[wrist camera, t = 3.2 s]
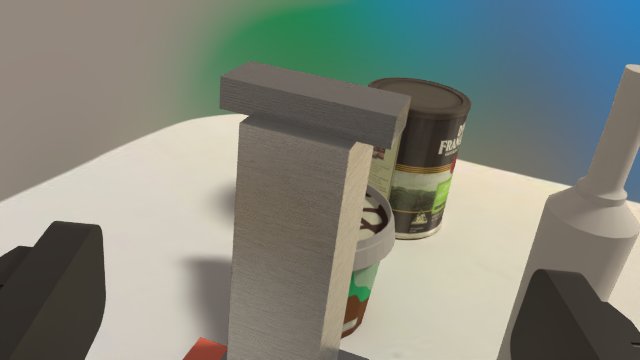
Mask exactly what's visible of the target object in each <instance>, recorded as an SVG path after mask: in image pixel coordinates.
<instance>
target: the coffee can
mask: <svg viewBox="0 0 640 360" xmlns="http://www.w3.org/2000/svg"><path fill="white" fill-rule="evenodd" d="M368 87H372V88H377V89H381V90H386V91H390V92H395V93H400V94H404V95H409V96H411V100H410V106H409V111H408V116H407V121H406V126H405V128H404V130H403V131H402V133H401V135H400V136H399V138H398V139H397V141H396V142H395V144H394V146H393V147H392V149H391V150H388V149H384V148H380V147H376V146H374V147H373V153H372V159H371V165H370V171H369V176H368V182H367V183H368V184H369V185H371V186H373V187H374V188H375V189H377V190H378V191H379V192H381V193H382V194H383V195H384V196H385V197H386V199H387V200H388V202H389V203H390V206H391V209H392V213H393V215H394V223H395V238H398V239H420V238H424V237H428V236H430V235H432V234H434V233H435V232H437V231H438V230H439V229H440V227H441V223H442V216H443V212H444V208H445V204H446V199H447V195H448V191H449V187H450V183H451V179H452V175H453V171H454V167H455V163H456V158H457V154H458V150H459V146H460V142H461V138H462V134H463V130H464V125H465V122H466V118H467V114H468V112H469V110H470V107H471V101H470V99H469V98H468V97H467V96H466V95H464V94H463V93H461V92H459V91H457V90H455V89H453V88H450V87H448V86H445V85H442V84H439V83H435V82H431V81H426V80H420V79H413V78H400V77H399V78H398V77H396V78H395V77H394V78H383V79H379V80H375V81H373V82H371V83H370V84H369V85H368Z"/></svg>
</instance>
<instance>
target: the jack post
mask: <svg viewBox="0 0 640 360" xmlns="http://www.w3.org/2000/svg"><path fill="white" fill-rule="evenodd" d="M220 82H221V83H220V109H224V110H228V111H232V112H236V113H240V114H244V115H248V116H249V117H247V118H246V119H244V120H243V121H242V122H240V125H239V143H238V162H237V181H236V200H235V218H234V237H233V256H232V275H231V293H230V312H229V331H228V350H227V360H337V357H338V351H339V346H340V340H341V334H342V328H343V322H344V316H345V311H346V305H347V299H348V293H349V287H350V281H351V276H352V270H353V264H354V258H355V252H356V246H357V241H358V235H359V229H360V223H361V217H362V211H363V206H364V200H365V194H366V188H367V182H368V176H369V171H370V165H371V159H372V153H373V147H374V146H376V147H380V148H384V149H388V150H391V149H392V147H393V146H394V144H395V142H396V141H397V139H398V138H399V136H400V135H401V133H402V131H403V130H404V128H405V126H406V121H407V116H408V111H409V106H410V100H411V96H409V95H404V94H400V93H395V92H390V91H386V90H381V89H377V88H372V87H367V86H362V85H358V84H354V83H349V82H344V81H339V80H335V79H330V78H325V77H321V76H316V75H312V74H308V73H302V72H298V71H294V70H289V69H285V68H280V67H275V66H270V65H266V64H262V63H257V62H252V61H249V62H247V63H245V64H243V65H242V66H240V67H238V68H236V69H234V70H232V71H230V72H228V73H226V74H224V75H223V76H221V81H220Z"/></svg>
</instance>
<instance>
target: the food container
mask: <svg viewBox="0 0 640 360" xmlns="http://www.w3.org/2000/svg"><path fill="white" fill-rule="evenodd" d="M394 242H395V223H394V215H393V213H392V209H391V206H390V203H389V202H388V200H387V199H386V197H385V196H384V195H383V194H382V193H381V192H379V191H378V190H377V189H375V188H374V187H373V186H371V185H369V184H368V183H367V188H366V194H365V200H364V206H363V211H362V217H361V223H360V229H359V235H358V241H357V246H356V252H355V258H354V264H353V270H352V276H351V281H350V287H349V293H348V299H347V305H346V311H345V316H344V322H343V328H342V334H341V339H342V338H344V337H346V336H348V335H350V334H352V333H353V332H354V331H355V330H356V329H357V327H358V326H359V325H360V324H361V322H362V319H363V316H364V313H365V309H366V306H367V303H368V299H369V296H370V293H371V289H372V286H373V283H374V279H375V276H376V273H377V269H378V266H379V263H380V260H382V259H383V258H385V257H386V256H387V254H388V253H389V252H390V251H391V249H392V248H393V246H394Z"/></svg>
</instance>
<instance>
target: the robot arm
mask: <svg viewBox="0 0 640 360" xmlns="http://www.w3.org/2000/svg"><path fill="white" fill-rule="evenodd" d="M105 301H106V289H105V270H104V251H103V235H102V230H101V227H100V226H99V225H94V224H84V223H73V222H63V221H54V222H53V223H52V224H51V225H50V226H49V227H48V228H47V230H46V231H45V232H44V234H43V235H42V236H41V238H40V239H39V240H38V241H37V243H36V244H35V245H34V247H26V246H18V247H16V248H14V249H13V250H11V251H9V252H8V253H6V254H4V255H3V256H1V257H0V360H85V357H86V355H87V353H88V351H89V349H90V347H91V345H92V343H93V341H94V339H95V337H96V334H97V332H98V330H99V328H100V325H101V322H102V319H103V314H104V309H105ZM510 354H511V360H640V332H639V331H638V329H637V328H636V327H635V325H634V324H633V323H632V321H630V320H629V319H628V318H627V317H625V316H624V315H623V314H622V313H620V312H619V311H618V310H617V309H615V308H614V307H613V306H612V305H611V304H609V303H608V302H603V301H601V300H600V298H599V297H598V295H597V294H596V292H595V291H594V289H593V288H592V287H591V285H590V284H589V282H588V281H587V279H586V278H585V277H584V276H583V275H582V274H581V273H579V272H569V271H559V270H549V269H537V270H536V271H535V272H534V273H533V275H532V277H531V279H530V282H529V285H528V287H527V290H526V293H525V296H524V299H523V302H522V304H521V307H520V310H519V313H518V316H517V319H516V321H515V324H514V327H513V330H512V334H511V340H510Z"/></svg>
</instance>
